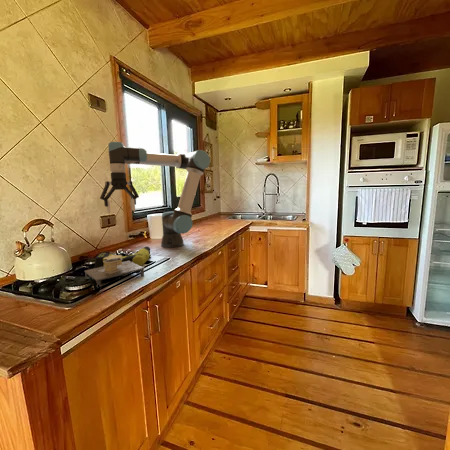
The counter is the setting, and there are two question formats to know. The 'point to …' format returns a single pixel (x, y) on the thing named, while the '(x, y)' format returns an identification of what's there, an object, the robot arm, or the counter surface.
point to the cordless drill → (126, 257)
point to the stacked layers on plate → (113, 264)
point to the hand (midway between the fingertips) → (121, 211)
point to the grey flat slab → (101, 275)
